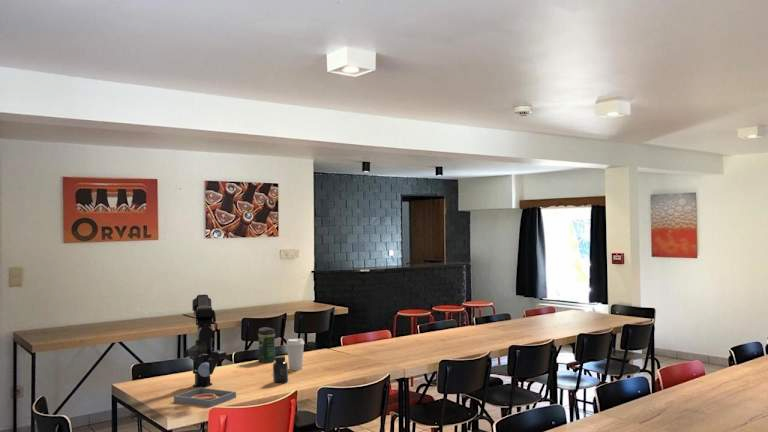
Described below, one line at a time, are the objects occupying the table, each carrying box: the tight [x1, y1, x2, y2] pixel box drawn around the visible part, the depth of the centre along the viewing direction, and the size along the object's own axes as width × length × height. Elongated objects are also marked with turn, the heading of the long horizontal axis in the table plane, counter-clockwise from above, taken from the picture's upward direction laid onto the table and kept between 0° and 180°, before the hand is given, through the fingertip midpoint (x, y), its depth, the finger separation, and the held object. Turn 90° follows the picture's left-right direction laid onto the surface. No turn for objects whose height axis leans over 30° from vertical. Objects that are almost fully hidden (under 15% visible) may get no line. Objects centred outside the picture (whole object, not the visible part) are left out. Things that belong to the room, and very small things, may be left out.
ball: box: [198, 362, 211, 377], centre depth 275 cm, size 6×6×6 cm
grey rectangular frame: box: [173, 387, 237, 408], centre depth 274 cm, size 20×16×2 cm
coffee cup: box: [285, 338, 305, 371], centre depth 333 cm, size 10×10×15 cm
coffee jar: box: [257, 326, 276, 363], centre depth 354 cm, size 10×8×19 cm
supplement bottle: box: [272, 355, 289, 384], centre depth 304 cm, size 7×7×12 cm
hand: (205, 373), depth 275 cm, fingers closed on ball, 6 cm apart
